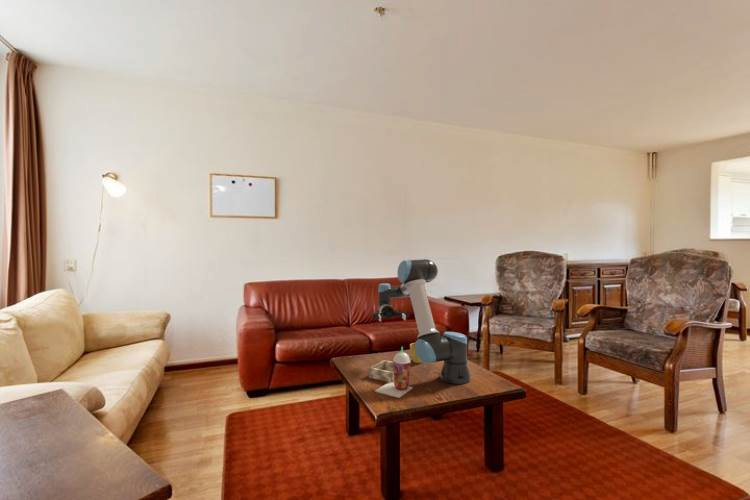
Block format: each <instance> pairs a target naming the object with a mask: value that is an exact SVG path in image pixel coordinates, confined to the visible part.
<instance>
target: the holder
mask: <svg viewBox="0 0 750 500" xmlns="http://www.w3.org/2000/svg"><path fill="white" fill-rule="evenodd" d="M368 378H370V379H373V380H379V381H381V382H386V383H388V382H393V383H394V366H393V361H391V360H385V359H384V360H381V361H380V362H377V363H375V364H373V365H371V366H368Z"/></svg>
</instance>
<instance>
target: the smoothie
mask: <svg viewBox="0 0 750 500" xmlns="http://www.w3.org/2000/svg"><path fill="white" fill-rule="evenodd" d="M400 350H401V351H400V352H396V354H395V355H394V358H393V359H392V362H393V366H394V385H395V388H396V389H398V390H406V389H407V388H408V386H409V387H410V385H409V384H410V373H411V362H412V359H411V357H410V355H409V354H408V353H407V352H405V351H403V350H404V347H403V346H401V349H400Z"/></svg>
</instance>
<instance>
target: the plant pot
mask: <svg viewBox="0 0 750 500" xmlns="http://www.w3.org/2000/svg"><path fill="white" fill-rule="evenodd" d="M415 343H416V342H412V343H410V344H409V351H410V353H411V357H412V361H413V362H414V363H417V364H423V362H422V361H421V360H420V359H419V358H418V356H417V354H416V351H415Z"/></svg>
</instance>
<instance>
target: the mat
mask: <svg viewBox="0 0 750 500" xmlns="http://www.w3.org/2000/svg"><path fill="white" fill-rule="evenodd" d="M413 388H414V387H413V386H410V385H409V386H408V388H407V389H406V390H398V389H396V388H395V385H394V383H393V382H386V384H384V385H382V386H380V387H378V388H377V389H375V390H374V392H375V393H378V394H382V395H387V396H391V397H395V398H398V399H399V398H401V397H403V396H404V395H405V394H407V393H408V392H409V391H411V390H412V389H413Z"/></svg>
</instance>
